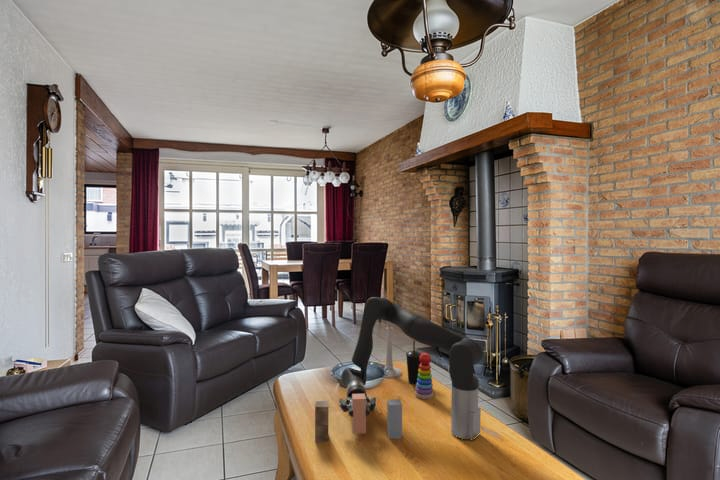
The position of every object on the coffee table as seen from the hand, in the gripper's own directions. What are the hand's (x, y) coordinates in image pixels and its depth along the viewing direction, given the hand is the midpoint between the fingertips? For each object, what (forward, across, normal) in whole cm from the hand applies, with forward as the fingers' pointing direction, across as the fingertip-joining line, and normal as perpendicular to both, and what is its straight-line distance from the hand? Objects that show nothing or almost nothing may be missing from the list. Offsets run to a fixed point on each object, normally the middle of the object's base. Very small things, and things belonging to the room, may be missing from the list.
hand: (359, 413), depth 140 cm
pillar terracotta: (-3, 0, +7) cm, 8 cm away
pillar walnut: (-3, -13, +9) cm, 16 cm away
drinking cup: (-51, +29, +10) cm, 59 cm away
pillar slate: (-3, +12, +10) cm, 16 cm away
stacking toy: (-35, +30, +10) cm, 48 cm away
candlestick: (-63, +19, +10) cm, 67 cm away
